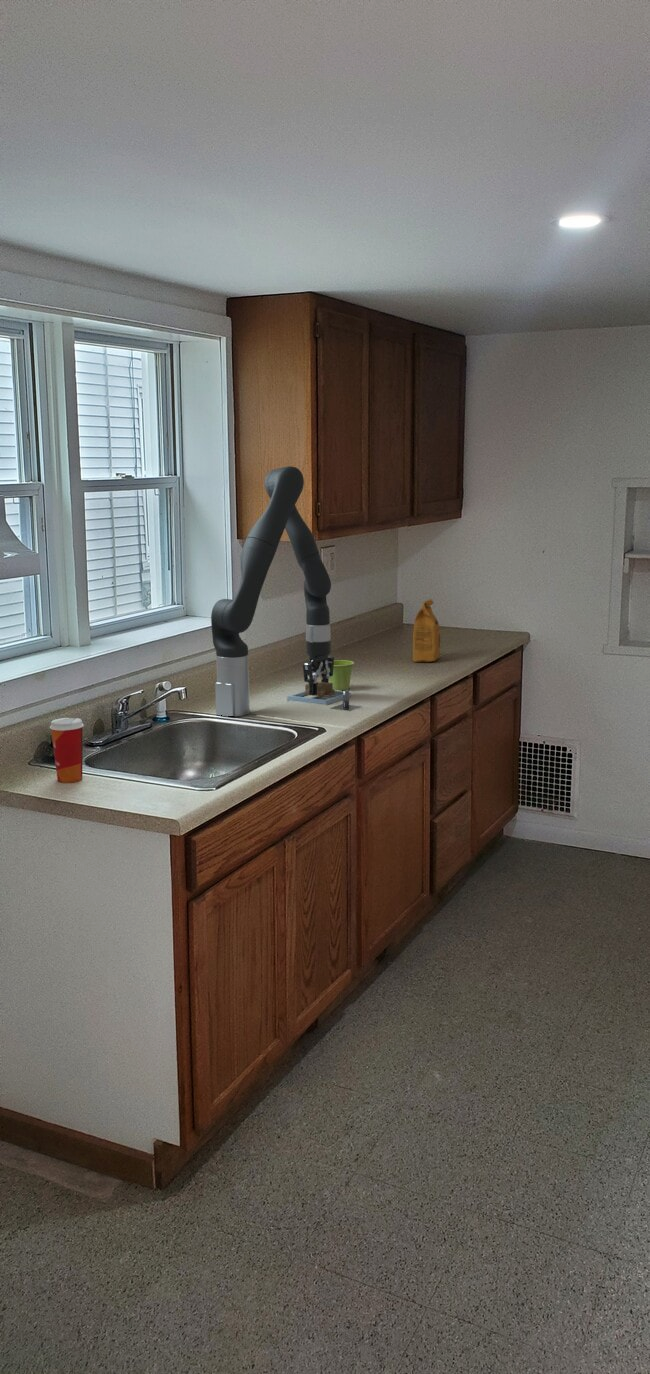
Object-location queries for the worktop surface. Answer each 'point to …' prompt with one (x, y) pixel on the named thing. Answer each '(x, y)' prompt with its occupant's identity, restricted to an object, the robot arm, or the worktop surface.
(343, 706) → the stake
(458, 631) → the worktop surface
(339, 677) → the plant pot
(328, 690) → the brown hollow rectangular frame
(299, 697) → the tray
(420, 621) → the coffee package
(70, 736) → the paper cup
